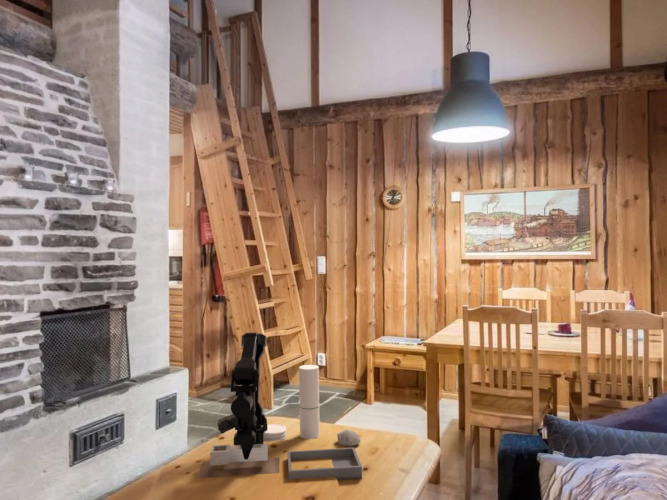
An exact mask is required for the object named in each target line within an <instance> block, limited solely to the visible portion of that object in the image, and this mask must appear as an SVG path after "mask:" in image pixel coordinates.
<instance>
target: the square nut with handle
mask: <svg viewBox="0 0 667 500" xmlns="http://www.w3.org/2000/svg"><path fill="white" fill-rule="evenodd" d="M268 450H269V448H268V443H264V444H254V445H253V447H252V450H251V452H250V455H249V458H248V459H244V456H243V452H242V448H241V445H230V444H229V443H228V444H216V445H215V444H214V445H213V444H212V445H211V448H210V452H209V462H210V466H212V465H228V464H229V463H233V462H249V461H266V460H268V458H269V455H268V454H269V453H268V452H269V451H268Z"/></svg>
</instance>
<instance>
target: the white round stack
mask: <svg viewBox="0 0 667 500" xmlns="http://www.w3.org/2000/svg"><path fill="white" fill-rule="evenodd" d="M287 436H288V435H287V427H286V426H285V425H283V424H279V423H270V424H267V431H265V433H263V437H264V442H278V441H282V442H283V441H284V440H285V439H286V438H287Z"/></svg>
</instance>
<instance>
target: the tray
mask: <svg viewBox="0 0 667 500" xmlns="http://www.w3.org/2000/svg"><path fill="white" fill-rule="evenodd" d="M286 453H287V454H286V455H287V468H288V469H287V471H288V480H299V479H301V480H304V479H316V478H331V477H336V480H337V481H347V480H359V479H361V480H362V479H363V467H362V463H361V461H360V458H359V456H358V453H357V451H356V449H355V447H341V448H325V449H324V448H323V449H311V450H310V449H308V450H306V449H304V450H290V451H289V450H288V451H287V452H286ZM322 458H323V459H325V458H331V463H332V466H333V467H322V468H321V467H319V468H305V469H292V460H306V459H322Z"/></svg>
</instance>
